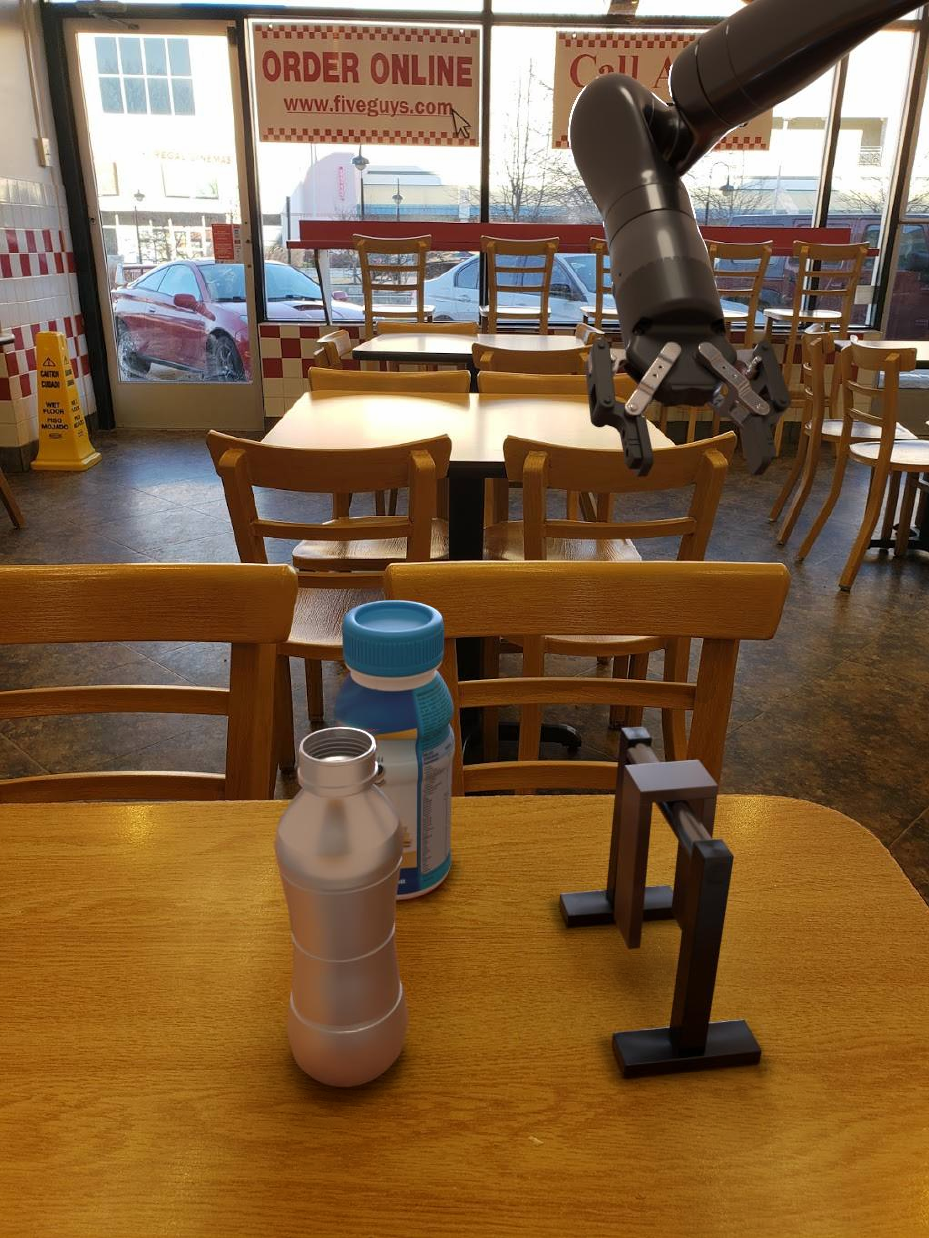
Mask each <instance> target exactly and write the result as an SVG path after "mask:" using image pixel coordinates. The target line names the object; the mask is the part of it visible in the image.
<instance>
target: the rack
mask: <svg viewBox="0 0 929 1238" xmlns="http://www.w3.org/2000/svg"><path fill="white" fill-rule="evenodd" d="M619 735H620V736H619V746H618V758H617V768H616V781H615V790H614V791H615V792H614V802H613V812H612V824H611V833H610V835H611V836H610V844H609V845H610V846H609V855H608V867H607V879H606V887H605V888H606V889H603V890H601V889H600V890H589V891H577V892H564V893H563V892H562V893H559V900H558V906H559V909H560V911H561V914H562V916H563V920H564V922H565V924H566V925H565V926H566V927H567V928H577V927H587V926H588V927H590V926H599V925H611V924H616V921H615V919H614V905H615V891H616V877H617V863H618V850H619V836H620V822H621V809H622V795H623V781H624V767H625V765H638V764H651V763H662V762H661V760H660V759H659V758H658V756H657V754H656V753H655V752H654V750H653V749H652V742H653V737H652V736H651V735H650V733H649V731H648V730H647V729H646V727H645V726H635V727H621V728H620V734H619ZM655 805H656V807H657V808H658V810H659V812H660V813H661V815H662V816H663V818H664V819H665V821H666V823H667V824H668V826H669V828H670V829H671V831H672V832H673V834H674V836H675V837H676V839H677V842H678V841H679V842H680V844H681V845H682V847H683V849H684V850H685V852H686V853H687V855H688V857H689V858H690V860H691V864H690V872H689V880H688V887H687V895H686V903H685V911H684V919H683V926H682V930H681V933H680V934H681V935H680V941H679V942H680V943H679V951H678V956H677V958H678V959H677V967H676V974H675V981H674V989H673V997H672V1004H671V1012H670V1020H669V1026H664V1027H654V1028H645V1029H636V1030H625V1031H618V1032H617V1031H616V1032H613V1033H612V1039H611V1047H612V1049H613V1053H614V1055H615V1058H616V1060H617V1063H618V1066H619V1069H620V1072H621V1074H622V1077H623V1078H624V1079H632V1078H640V1077H650V1076H651V1077H652V1076H658V1075H667V1074H677V1073H686V1072H696V1071H704V1070H714V1069H723V1068H732V1067H740V1066H741V1067H742V1066H750V1065H751V1066H752V1065H758V1064H760V1063H761V1058H762V1052H763V1050H762V1048H761V1047H760V1045H759V1043H758V1041H757V1039H756V1037H755V1036H754V1034H753V1032H752V1030H751V1028H750V1027H749V1025H748V1023H747V1021H746V1020H745V1019H733V1020H723V1021H713V1022H710V1020H711V1013H712V1008H713V1000H714V994H715V986H716V980H717V973H718V968H719V967H718V966H719V959H720V953H721V946H722V939H723V933H724V926H725V919H726V913H727V912H726V911H727V906H728V899H729V893H730V886H731V885H730V884H731V880H732V872H733V864H734V859H735V856H734V854H733V852H731V850H730V849H729V847H728V846H727V843H725V841H724V840H723V839H722V838H714V839H713V837H711V836H710V834H709V833H708V831H707V830H706V828H705V827H704V825H703V824H702V822H701V821H700V819H699V818H698V817H697V815H696V814H695V812H694V811H693V809H692V808H691V806H690V805H689V803H688V802H687V800H680V801H668V802H656V803H655ZM672 899H673V889H672V887H671V886H670V884H666V885H665V884H664V885H652V886H646V887H645V898H644V910H643V921H642V922H645V921H646V922H647V921H659V920H669V919H670V920H671V919H675V917H674V916H673V914H672V912H671V909H672Z"/></svg>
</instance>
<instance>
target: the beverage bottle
mask: <svg viewBox="0 0 929 1238" xmlns="http://www.w3.org/2000/svg"><path fill="white" fill-rule="evenodd" d="M342 620H343V621H342V624H341V634H342V635H341V637H342V638H341V639H342V640H341V641H342V657H343V661H344V664H345V667H346V668H347V669H348V671H349V672H348V673H347V675H346V677H345V678H344V680H343V682H342V683H341V686H340V687H339V689H338V692H337V694H336V699H335V701H334V705H333V716H334V719H335V722H336V723H337V725H338V726H337V727H348V728H355V729H359V730H363V731H365V732H367V733H369V734H370V735H371V736H372V737H373V738H374V740H375V744H376V762H377V765H378V777H377V779H376V781H375V782H374V784H375V785H376V786H377V787H378V788H379V789H380V790H381V791H382V792H383V793H384V795H385V796H386V797H387V798H388V800H389V801H390V802H391V804H392V805H393V806H394V808H395V809H396V811H397V813H398V816H399V819H400V821H401V824H402V827H403V829H404V844H403V854H402V862H401V868H400V875H399V882H398V888H397V895H396V901H403V900H409V899H414V898H417V897H420V896H423V895H425V894H427V893H429V892H431V891H433V890H434V889H436V888H438V886H439V885H441V884H442V883H443V882H444V881H445V880H446V878H447V876H448V874H449V873H450V869H451V864H452V848H451V837H452V835H451V828H452V826H451V825H452V793H453V791H452V788H453V787H452V785H453V758H454V757H455V751H456V740H455V739H456V738H455V733H454V730H453V728H452V726H451V725H450V723H451V721H452V719H453V716H454V710H455V709H454V702H453V699H452V695H451V692H450V690H449V687H448V686H447V685H448V684H446V682H445V680H444V679H443V676H442V675H441V674H440V672H439V671H438V669H439V668H440V666H441V664H442V663H443V660H444V659H443V658H444V653H445V652H444V651H445V648H444V647H445V624H444V619H443V616H442V614H441V613H440V611H438V609H435V608H434V607H432V606H430V605H427V604H424V603H421V602H416V601H411V600H410V601H409V600H396V599H395V600H392V599H391V600H379V601H378V600H377V601H372V602H368V603H363V604H361V605H358V606H355V607H353V608H352V609H350V610H349V611H347V612H346V614H345V615H344V616H343V619H342Z"/></svg>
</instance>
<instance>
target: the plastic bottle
mask: <svg viewBox="0 0 929 1238" xmlns="http://www.w3.org/2000/svg"><path fill="white" fill-rule="evenodd" d="M298 760H299V761H298V762H299V766H298V768H297V782H298V784H299V786H300V787H301V789H300V790H299V791H298V792H297V794H296V795H295V796H294V797H293V798H292V799H291V800H290V802H289V803H288V805H287V807H286V808H285V810H284V811H283V813H282V814H281V816H280V818H279V819H278V822H277V825H276V830H275V833H274V839H273V848H274V854H275V855H274V856H275V861H276V865H277V868H278V870H277V871H278V874H279V878H280V882H281V885H282V889H283V893H284V896H285V901H286V906H287V911H288V918H289V925H290V933H291V934H290V935H291V939H292V947H293V949H292V973H291V975H292V976H291V977H292V978H291V991H290V996H289V1002H288V1009H287V1018H286V1020H287V1021H286V1035H287V1036H286V1037H287V1040H288V1043H289V1046H290V1050H291V1054H292V1056H293V1058H294V1060H295V1063H296V1065H298V1066H299V1068H300V1069H301V1070H302V1071H303V1072H304V1073H305V1074H307V1075H308V1076H309V1077H311V1078H312V1079H314V1080H315V1081H317V1082H319V1083H321V1084H324V1085H326V1086H330V1087H339V1088H350V1087H357V1086H361V1085H363V1084H366V1083H369V1082H372V1081H373V1080H376V1079H377V1078H378V1077H380V1076H382V1074H383V1073H385V1072H386V1071H387V1070H388V1069H389V1068H390V1067H392V1065H393V1064H394V1063H395V1062H396V1060H397V1059H398V1058H399V1056H400V1054H401V1052H402V1051H403V1048H404V1045H405V1040H406V1035H407V1031H408V1026H409V1010H408V1005H407V999H406V995H405V991H404V987H403V983H402V981H401V978H400V970H399V961H398V953H397V946H396V945H397V944H396V937H395V936H396V912H397V910H396V909H397V900H396V895H397V888H398V882H399V875H400V868H401V862H402V854H403V844H404V829H403V827H402V824H401V821H400V819H399V816H398V813H397V811H396V809H395V808H394V806H393V805H392V804H391V802H390V801H389V800H388V798H387V797H386V796H385V795H384V793H383V792H382V791H381V790H380V789H379V788H378V787H377V786H376V785H375V784H374V782H375V781H376V779H377V777H378V765H377V762H376V744H375V740H374V738H373V737H372V736H371V735H370V734H369V733H367V732H365V731H363V730H359V729H355V728H348V727H338V726H337V727H328V728H323V729H319V730H316V731H314V732H312V733H310V734H308V735H307V736H304V737H303V738H302V740H301V742H300V743H299V749H298Z"/></svg>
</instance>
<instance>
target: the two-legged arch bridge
mask: <svg viewBox="0 0 929 1238" xmlns="http://www.w3.org/2000/svg"><path fill="white" fill-rule="evenodd" d="M718 792H719V785H718V783H717V782H716V781H715V780H714V778H713V777H712V776H711V774H710V773H709V771H708V770H707V769H706V767H705V766H704V765H703V763H702V762H701V761H700V760H699V759H693V760H691V759H689V760H679V761H666V762H661V763H651V764H638V765H625V767H624V781H623V795H622V809H621V822H620V836H619V850H618V863H617V877H616V891H615V905H614V919H615V921H616V923H615V924H616V926H617V928H618V930H619V933H620V935H621V937H622V939H623V941H624V944H625V946H626V948H627V950H636V949H637V950H638V949H641V943H642V930H643V922H644V921H643V910H644V898H645V887H647V875H648V863H649V853H650V839H651V827H652V817H653V806H654V805H653V803H654V804H656V802H668V801H680V800H687V802H688V803H689V805H690V806H691V808H692V809H693V811H694V812H695V814H696V815H697V817H698V818H699V819H700V821H701V822H702V824H703V825H704V827H705V828H706V830H707V831H708V833H709V834H710V836H711V837H712V838H713V837H714V829H715V828H714V827H715V819H716V811H717V802H718V798H717V797H718ZM676 849H677V851H676V860H675V869H674V879H673V889H672V891H673V899H672V909H671V912H672V914H673V916H674V917H675V918H674V919H675V921H676V923H677V925H678V927H679V928H680V931H682V926H683V919H684V911H685V903H686V895H687V887H688V880H689V872H690V864H691V860H690V858H689V857H688V855H687V853H686V852H685V850H684V849H683V847H682V845H681V844H680V842H679V841H678V840H677V848H676Z"/></svg>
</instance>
